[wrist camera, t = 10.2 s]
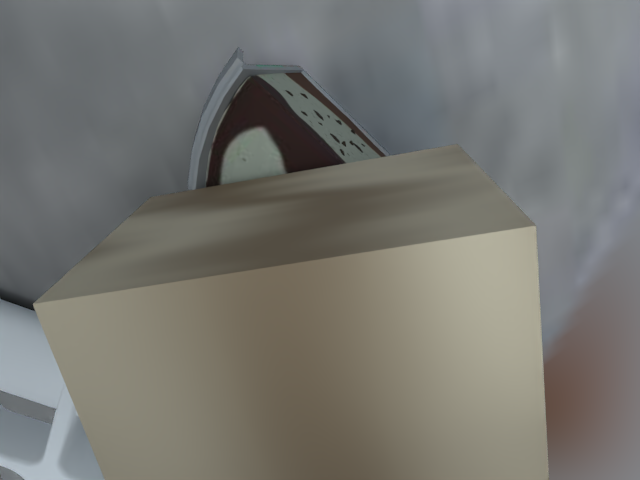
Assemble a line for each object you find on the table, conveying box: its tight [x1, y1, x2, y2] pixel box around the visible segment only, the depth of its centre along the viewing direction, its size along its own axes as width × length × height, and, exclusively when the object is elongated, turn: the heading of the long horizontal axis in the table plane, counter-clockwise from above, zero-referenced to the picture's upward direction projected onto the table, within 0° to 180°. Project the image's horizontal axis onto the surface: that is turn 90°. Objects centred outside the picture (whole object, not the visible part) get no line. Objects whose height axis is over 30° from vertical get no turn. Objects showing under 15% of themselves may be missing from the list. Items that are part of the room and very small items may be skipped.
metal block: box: [33, 144, 549, 480], centre depth 13 cm, size 8×8×6 cm
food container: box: [188, 47, 391, 191], centre depth 20 cm, size 12×6×10 cm, turn 47°
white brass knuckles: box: [0, 298, 105, 480], centre depth 29 cm, size 3×18×15 cm
